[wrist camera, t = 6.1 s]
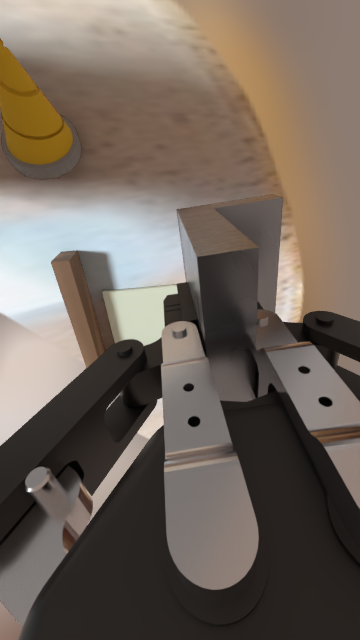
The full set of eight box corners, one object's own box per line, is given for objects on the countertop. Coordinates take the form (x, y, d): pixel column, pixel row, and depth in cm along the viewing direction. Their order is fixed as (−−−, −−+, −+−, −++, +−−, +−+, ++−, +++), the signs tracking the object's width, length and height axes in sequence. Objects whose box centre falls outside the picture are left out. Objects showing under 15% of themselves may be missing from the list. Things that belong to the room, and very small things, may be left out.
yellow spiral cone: (14, 170, 23) (-90, 7, 13) (70, 145, 24) (12, -21, 14) (45, 215, 22) (-41, 77, 12) (101, 187, 23) (63, 40, 13)
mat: (116, 345, 32) (115, 347, 32) (102, 291, 29) (102, 292, 28) (204, 337, 33) (204, 339, 32) (203, 281, 29) (203, 283, 29)
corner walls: (97, 367, 34) (92, 384, 32) (61, 252, 26) (50, 262, 23) (231, 353, 35) (237, 369, 32) (236, 236, 27) (245, 244, 24)
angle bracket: (176, 209, 12) (196, 256, 6) (272, 194, 12) (383, 227, 6) (194, 345, 16) (216, 450, 10) (265, 334, 16) (327, 433, 10)
